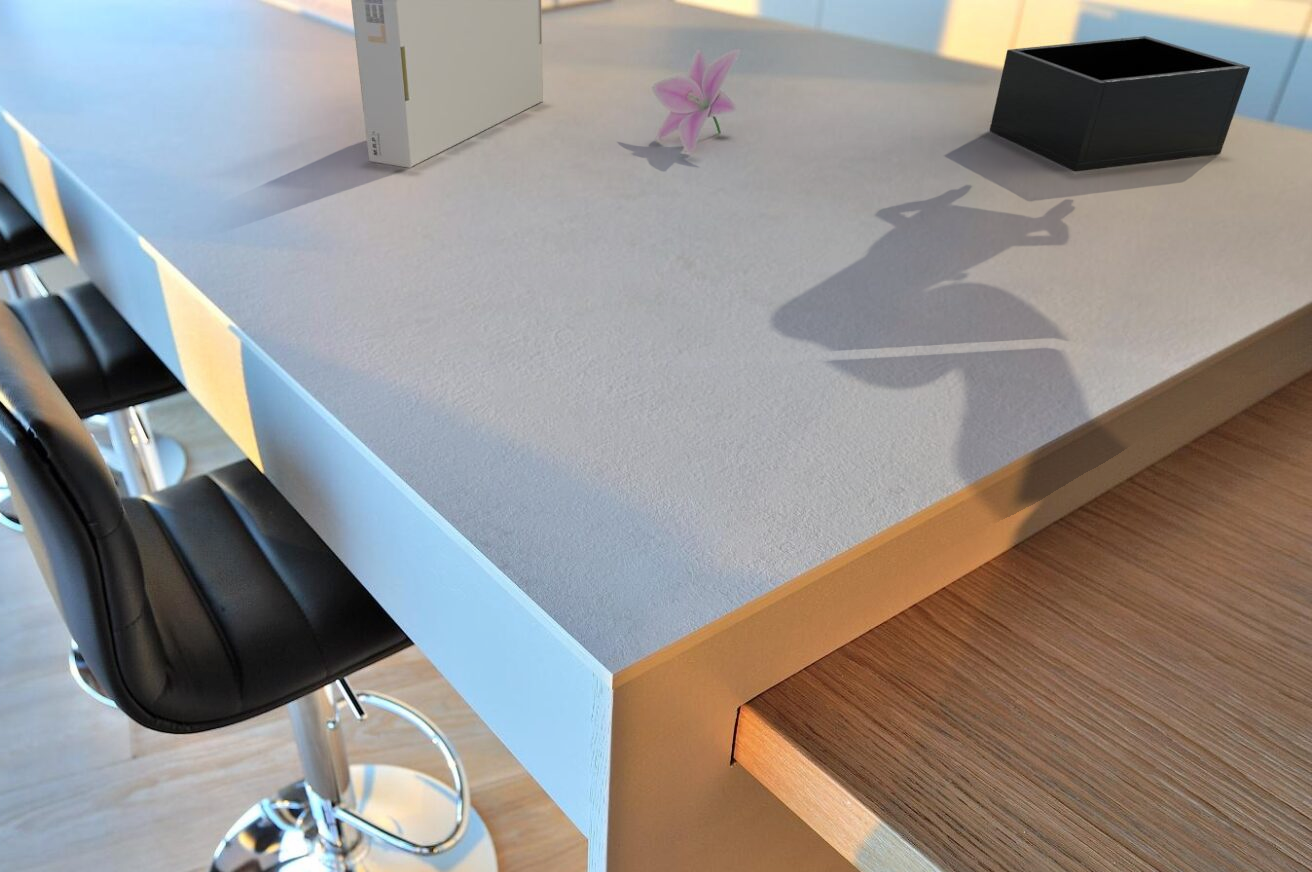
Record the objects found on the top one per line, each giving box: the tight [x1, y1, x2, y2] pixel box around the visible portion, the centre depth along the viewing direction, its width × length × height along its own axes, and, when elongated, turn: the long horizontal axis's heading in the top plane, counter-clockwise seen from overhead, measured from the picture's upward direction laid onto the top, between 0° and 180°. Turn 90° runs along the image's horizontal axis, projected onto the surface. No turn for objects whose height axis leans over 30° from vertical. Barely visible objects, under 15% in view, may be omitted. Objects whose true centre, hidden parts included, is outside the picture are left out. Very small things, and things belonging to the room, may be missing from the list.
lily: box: [651, 47, 741, 155], centre depth 124 cm, size 12×12×10 cm
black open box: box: [989, 35, 1251, 172], centre depth 118 cm, size 18×16×9 cm
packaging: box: [350, 0, 544, 169], centre depth 128 cm, size 30×6×20 cm, turn 149°
